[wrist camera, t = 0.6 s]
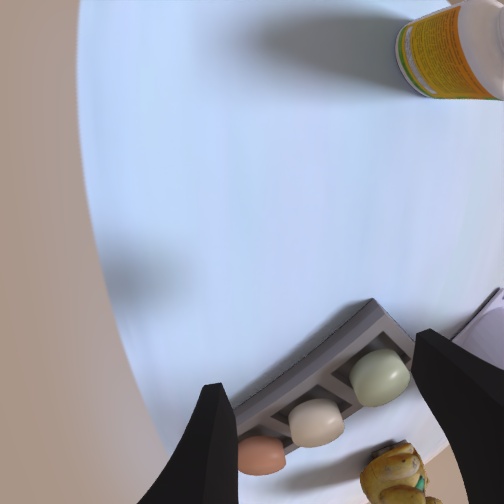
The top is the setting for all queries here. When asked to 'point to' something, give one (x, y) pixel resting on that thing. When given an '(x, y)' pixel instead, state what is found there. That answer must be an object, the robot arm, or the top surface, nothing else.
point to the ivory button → (315, 423)
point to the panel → (323, 375)
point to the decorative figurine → (396, 477)
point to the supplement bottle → (455, 52)
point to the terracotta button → (260, 455)
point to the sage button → (379, 377)
